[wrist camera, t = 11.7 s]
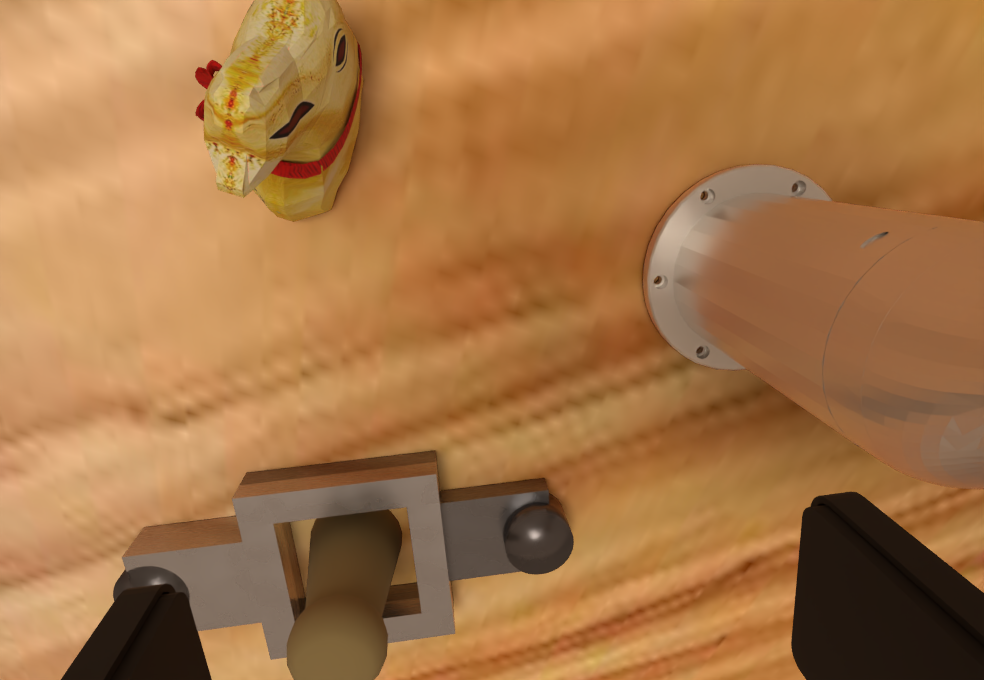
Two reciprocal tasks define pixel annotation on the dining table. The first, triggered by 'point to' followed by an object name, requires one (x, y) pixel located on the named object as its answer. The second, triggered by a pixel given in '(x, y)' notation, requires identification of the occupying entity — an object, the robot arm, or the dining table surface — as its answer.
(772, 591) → the dining table surface
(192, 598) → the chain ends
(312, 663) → the cork
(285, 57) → the chocolate bunny
